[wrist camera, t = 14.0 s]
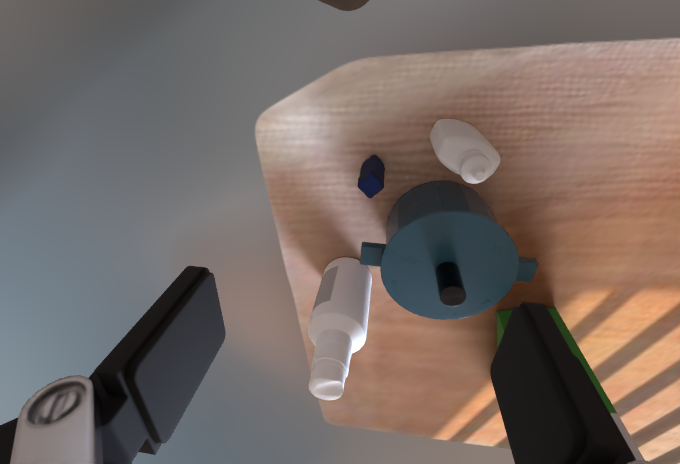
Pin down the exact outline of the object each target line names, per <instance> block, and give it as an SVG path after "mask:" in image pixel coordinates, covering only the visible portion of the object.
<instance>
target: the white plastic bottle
mask: <svg viewBox="0 0 680 464" xmlns="http://www.w3.org/2000/svg"><path fill="white" fill-rule="evenodd" d="M371 282H372V278H371V273H370V271H369V269H368V267H367V266H366V265H361V264H360V261H359V260H357V259H354V258H349V257H343V258H338V259H335V260H333V261H332V262H331V263H329V264H328V265H327V267H326V268H325V270H324V274H323V277H322V281H321V284H320V287H319V291H318V294H317V297H316V301H315V304H314V307H313V311H312V314H311V317H310V321H309V325H308V335H309V338H310V340H311V341H312V343H313V344H314V345H315V350H314V352H315V353H314V357H313V361H312V365H311V370H312V371H311V373H312V374H311V378H310V382H309V390H310V392H311V393H312V394H313V395H315V396H316V397H318V398H320V399H324V400H335V399H338V398H340V397H341V396H342V393H343V389H344V383H345V379H346V377H347V375H348V371H349V363H350V359H351V355H352V353H354V352H356V351H358V350H359V349H360V348H361V347H362V346H363V345H364V342H365V339H366V334H367V324H368V313H369V303H370V292H371Z"/></svg>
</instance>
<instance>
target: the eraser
mask: <svg viewBox="0 0 680 464" xmlns="http://www.w3.org/2000/svg"><path fill="white" fill-rule="evenodd" d="M384 171H385V167H384V164H383V162H382V161H381V160H380V159H379V158H378V157H377V156H376V155H372V156H371V157H370V158H369V159H367V160H366V161H365V162H364V163H363V165H362V167H361V172H360V177H359V178H358V188H359V189H360V190H361V191H362V192H364V193H365V195H366V196H367V197H368V198H372V197H373V196H374V195H376V194H377V193H379V192H380V191H381V190H382V189H383V188H384Z"/></svg>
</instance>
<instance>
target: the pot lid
mask: <svg viewBox="0 0 680 464" xmlns="http://www.w3.org/2000/svg"><path fill="white" fill-rule="evenodd" d="M518 268H519V256H518V252H517V248H516V246H515V244H514V242H513V240H512V238H511V237H510V236H509V234H508V233H507V232H506V231H505V230H504V228H503V227H501V226H500V225H499V224H498V223H496V222H495V221H493V220H491V219H490V218H488V217H486V216H483V215H481V214H478V213H474V212H470V211H464V210H441V211H436V212H431V213H428V214H425V215H422V216H419V217H417V218H415V219H413V220H411V221H410V222H408V223H406V224H405V225H404V226H402V227H401V228H400V229H399V230H398V231H397V232H396V233H395V234H394V235H393V236H392V237H391V238H390V240H389V241H388V243H387V245H386V247H385V248H384V251H383V254H382V259H381V278H382V281H383V284H384V286H385V288H386V290H387V292H388V293H389V295H390V296H391V297H392V298H393V299H394V300H395V301H396V302H397V303H398V304H399V305H400V306H402V307H403V308H405V309H406V310H408V311H410V312H412V313H414V314H417V315H420V316H423V317H427V318H432V319H441V320H453V319H461V318H466V317H470V316H473V315H476V314H479V313H481V312H483V311H485V310H487V309H489V308H491V307H492V306H494V305H495V304H496V303H498V302H499V301H500V300H501V299H502V298H503V297H504V296H505V295H506V294H507V293H508V292H509V290H510V289H511V287H512V286H513V284H514V282H515V280H516V277H517V273H518Z"/></svg>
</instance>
